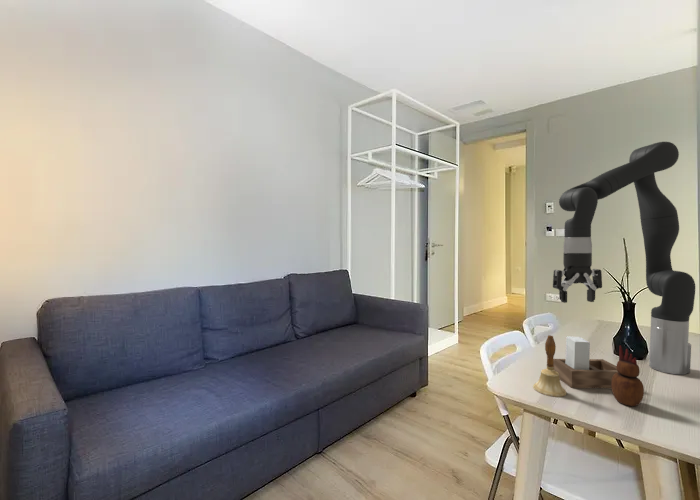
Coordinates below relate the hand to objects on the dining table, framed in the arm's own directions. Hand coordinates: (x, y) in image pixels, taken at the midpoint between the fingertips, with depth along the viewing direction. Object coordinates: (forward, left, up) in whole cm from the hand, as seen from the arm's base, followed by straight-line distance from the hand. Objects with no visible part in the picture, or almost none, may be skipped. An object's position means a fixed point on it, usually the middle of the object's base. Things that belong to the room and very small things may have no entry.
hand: (577, 301), depth 108 cm
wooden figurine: (-1, +19, -24) cm, 30 cm away
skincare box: (+3, +5, -23) cm, 23 cm away
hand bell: (+15, +12, -24) cm, 30 cm away
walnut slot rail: (0, +5, -23) cm, 24 cm away
